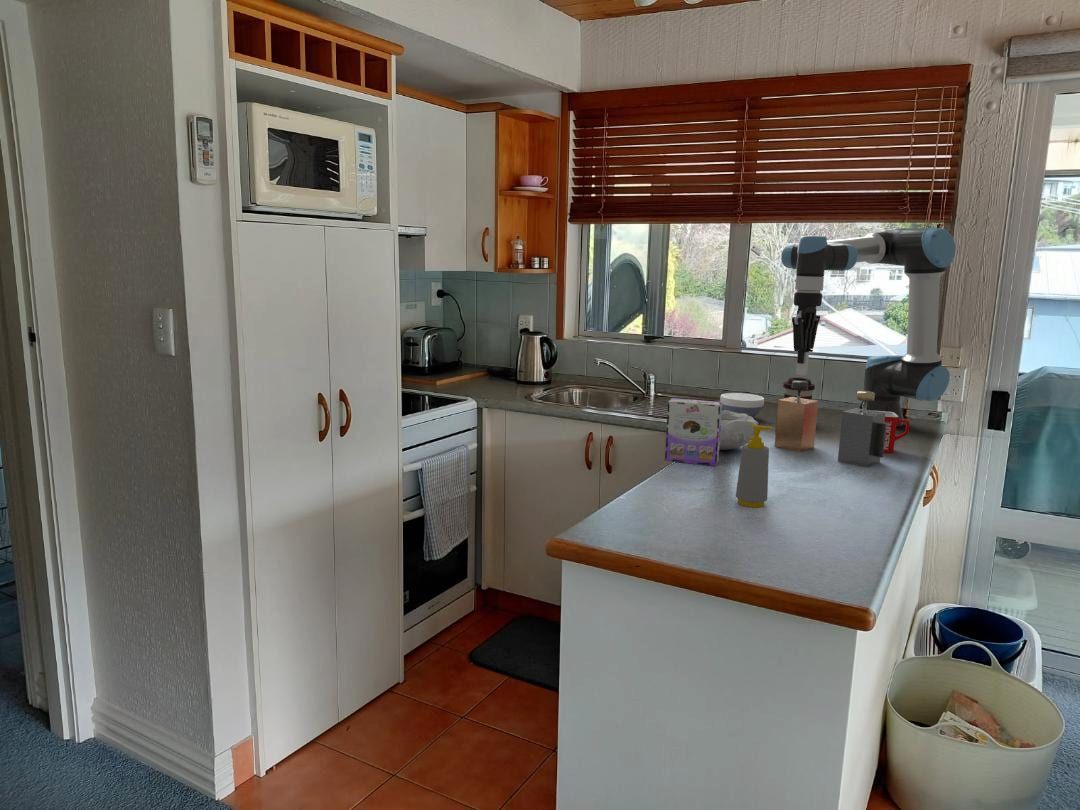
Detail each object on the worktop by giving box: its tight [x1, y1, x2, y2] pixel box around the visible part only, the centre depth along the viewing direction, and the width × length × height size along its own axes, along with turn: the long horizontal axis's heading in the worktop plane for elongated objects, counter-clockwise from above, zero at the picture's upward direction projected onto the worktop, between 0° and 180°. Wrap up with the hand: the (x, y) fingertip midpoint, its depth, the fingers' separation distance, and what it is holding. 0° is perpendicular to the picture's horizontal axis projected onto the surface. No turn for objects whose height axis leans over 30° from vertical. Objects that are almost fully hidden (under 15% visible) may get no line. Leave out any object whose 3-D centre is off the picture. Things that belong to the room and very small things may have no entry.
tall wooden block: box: [774, 397, 819, 452], centre depth 234 cm, size 8×10×14 cm
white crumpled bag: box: [719, 409, 760, 451], centre depth 229 cm, size 21×20×10 cm
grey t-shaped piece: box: [792, 381, 808, 401], centre depth 232 cm, size 6×6×17 cm
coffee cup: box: [782, 377, 816, 400], centre depth 267 cm, size 10×10×15 cm
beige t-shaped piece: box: [856, 390, 875, 413], centre depth 217 cm, size 6×6×17 cm
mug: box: [878, 411, 911, 454], centre depth 233 cm, size 12×8×11 cm
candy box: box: [664, 397, 723, 467], centre depth 213 cm, size 14×6×16 cm, turn 71°
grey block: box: [837, 407, 887, 468], centre depth 217 cm, size 8×10×14 cm
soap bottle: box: [735, 424, 774, 508], centre depth 178 cm, size 7×7×18 cm
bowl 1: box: [719, 392, 765, 420], centre depth 273 cm, size 14×14×8 cm
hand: (801, 374), depth 231 cm, fingers closed
